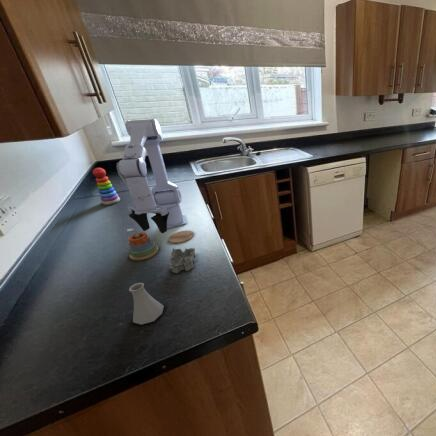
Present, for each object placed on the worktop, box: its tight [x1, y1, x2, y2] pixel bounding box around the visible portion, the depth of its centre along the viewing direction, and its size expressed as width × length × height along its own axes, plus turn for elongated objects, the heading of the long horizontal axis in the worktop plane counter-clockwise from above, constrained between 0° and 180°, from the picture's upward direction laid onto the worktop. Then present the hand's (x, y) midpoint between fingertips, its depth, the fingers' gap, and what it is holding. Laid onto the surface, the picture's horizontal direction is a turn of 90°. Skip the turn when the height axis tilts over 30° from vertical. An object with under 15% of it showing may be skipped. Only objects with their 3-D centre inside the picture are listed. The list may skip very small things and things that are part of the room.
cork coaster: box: [168, 230, 195, 244], centre depth 109 cm, size 9×9×1 cm
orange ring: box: [128, 231, 149, 246], centre depth 97 cm, size 5×5×2 cm
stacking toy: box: [92, 167, 121, 206], centre depth 138 cm, size 8×8×19 cm
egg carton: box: [168, 247, 196, 274], centre depth 93 cm, size 11×8×4 cm
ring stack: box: [128, 233, 160, 262], centre depth 98 cm, size 9×9×8 cm
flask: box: [128, 282, 165, 326], centre depth 71 cm, size 7×7×10 cm
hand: (155, 230), depth 95 cm, fingers open, 7 cm apart
